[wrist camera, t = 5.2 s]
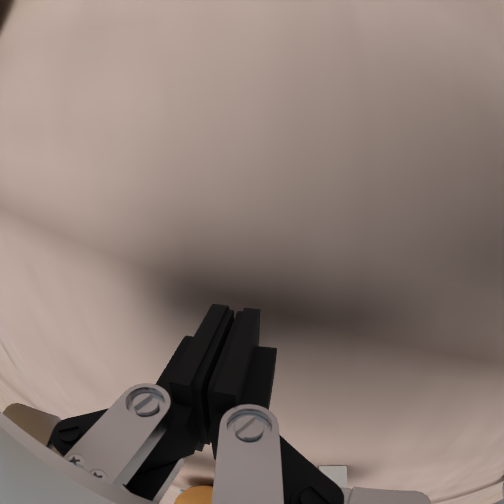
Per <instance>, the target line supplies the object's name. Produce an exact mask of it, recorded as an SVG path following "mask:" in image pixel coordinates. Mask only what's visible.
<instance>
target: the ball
mask: <svg viewBox="0 0 504 504" xmlns="http://www.w3.org/2000/svg"><path fill="white" fill-rule="evenodd" d="M212 494H213V486H204V485H202V486H195V487H191V488H189V489H187V490H185V491H183V492H182V493H181V494H180V495H179V496H178V497H177V499H176V500H175V502H174V504H211V503H212Z"/></svg>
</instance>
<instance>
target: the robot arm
mask: <svg viewBox="0 0 504 504" xmlns="http://www.w3.org/2000/svg"><path fill="white" fill-rule="evenodd" d="M259 326H260V309H251V308H244V310H243V312H241V311H238V312H237V314H236V317H235V319H234V311H233V310H229V306H225V305H218V304H212V306H211V307H210V309H209V311H208V313H207V314H206V316H205V318H204V320H203V321H202V323H201V325H200V327H199V328H198V330H197V332H196V334H195V335H194V337H192V336H185V337H184V338H183V340H182V341H181V343H180V345H179V346H178V348H177V350H176V351H175V353H174V355H173V356H172V358H171V360H170V361H169V363H168V364H167V366H166V368H165V369H164V371H163V373H162V374H161V376H160V378H159V379H158V381H157V383H156V384H155V385H154V384H146V383H144V384H138V385H135V386H133V387H130V388H129V389H128V390H126V391H125V392H124V393H123V394H122V395H121V396H120V397H119V399H118V400H117V401H116V402H115V403H114V404H113V405H112V406H111V407H110V408H109V409H105V410H101V411H97V412H93V413H89V414H85V415H80V416H76V417H71V418H67V419H64V420H61V419H60V418H59V417H58V416H55V415H51V414H48V413H45V412H42V411H39V410H37V409H34V408H31V407H28V406H26V405H23V404H19V403H15V404H11V405H9V406H8V407H7V408H6V409H5V410H4V412H3V414H2V413H1V412H0V504H159V502H160V501H161V499H162V498H163V496H164V494H165V493H166V491H167V490H168V488H169V487H170V485H171V484H172V482H173V480H174V479H175V477H176V476H177V474H178V473H179V471H180V469H181V468H182V466H183V465H184V463H185V460H186V457H187V456H190V455H192V454H194V452H195V450H198V451H202V450H203V447H204V444H208V445H210V443H212V449H213V455H214V459H215V460H216V465H215V475H214V484H213V494H212V503H211V504H431V501H430V499H429V498H428V496H427V495H425V494H424V493H422V492H418V491H399V490H382V489H370V488H361V487H353V488H352V489H350V488H343V487H339V486H338V485H337V484H336V483H335V482H334V481H332V480H331V479H330V478H329V477H327V476H326V475H325V474H324V473H322V472H321V471H320V470H319V469H318V468H316V467H315V466H314V465H313V464H312V463H310V462H309V461H308V460H307V459H306V458H305V457H303V456H302V455H301V454H300V453H299V452H298V451H297V450H296V449H294V448H293V447H292V446H291V445H290V444H289V443H288V442H287V441H286V440H285V439H284V438H282V437H281V436H280V435H279V425H278V421H277V418H276V417H275V416H274V414H273V413H272V412H271V411H269V405H270V399H271V392H272V386H273V379H274V371H275V363H276V354H277V348H270V347H261V346H258V343H259Z"/></svg>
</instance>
